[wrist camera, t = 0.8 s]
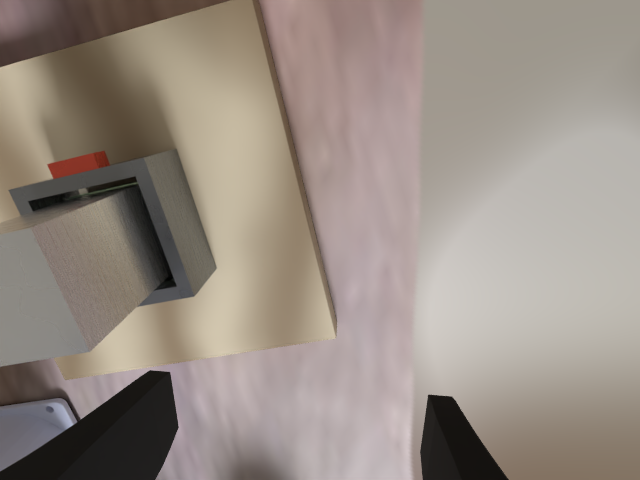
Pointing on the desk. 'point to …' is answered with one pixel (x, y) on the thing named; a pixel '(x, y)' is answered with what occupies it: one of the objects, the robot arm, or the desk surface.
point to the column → (75, 272)
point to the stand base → (200, 169)
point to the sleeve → (161, 200)
